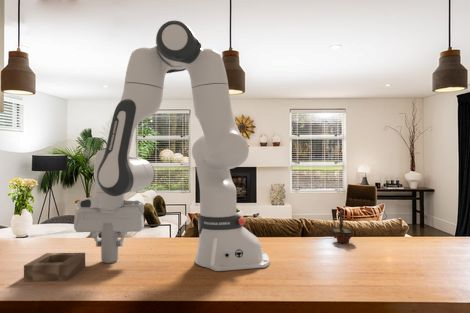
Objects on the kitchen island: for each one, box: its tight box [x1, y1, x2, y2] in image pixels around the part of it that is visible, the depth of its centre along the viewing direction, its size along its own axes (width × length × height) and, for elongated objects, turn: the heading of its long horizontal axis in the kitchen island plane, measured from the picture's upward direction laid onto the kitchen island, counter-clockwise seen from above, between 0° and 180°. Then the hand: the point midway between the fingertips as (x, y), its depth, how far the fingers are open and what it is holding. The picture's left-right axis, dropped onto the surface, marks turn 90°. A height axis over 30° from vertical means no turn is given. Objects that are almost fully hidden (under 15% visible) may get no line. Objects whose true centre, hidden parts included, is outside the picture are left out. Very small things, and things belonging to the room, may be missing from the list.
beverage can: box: [100, 223, 119, 264], centre depth 101 cm, size 5×5×12 cm
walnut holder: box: [23, 252, 86, 282], centre depth 91 cm, size 11×11×4 cm
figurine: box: [329, 209, 354, 244], centre depth 123 cm, size 10×8×12 cm
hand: (109, 246), depth 101 cm, fingers closed on beverage can, 5 cm apart
